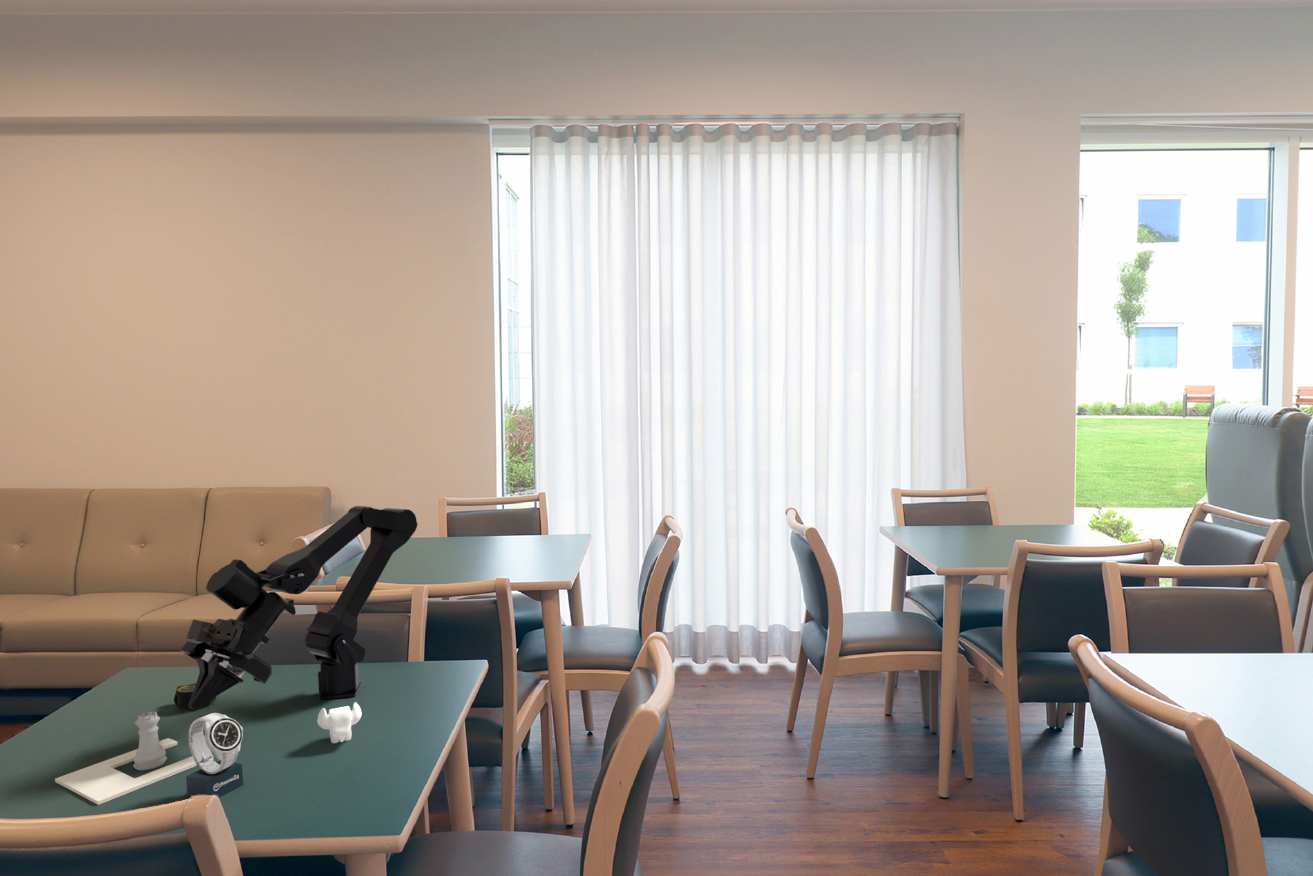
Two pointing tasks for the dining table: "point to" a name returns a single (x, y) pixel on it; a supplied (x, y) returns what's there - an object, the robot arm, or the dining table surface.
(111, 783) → the cream u-shaped flat bracket
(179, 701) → the tape measure
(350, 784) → the dining table surface
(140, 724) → the rook chess piece
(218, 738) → the watch
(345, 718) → the elephant figurine
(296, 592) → the robot arm
